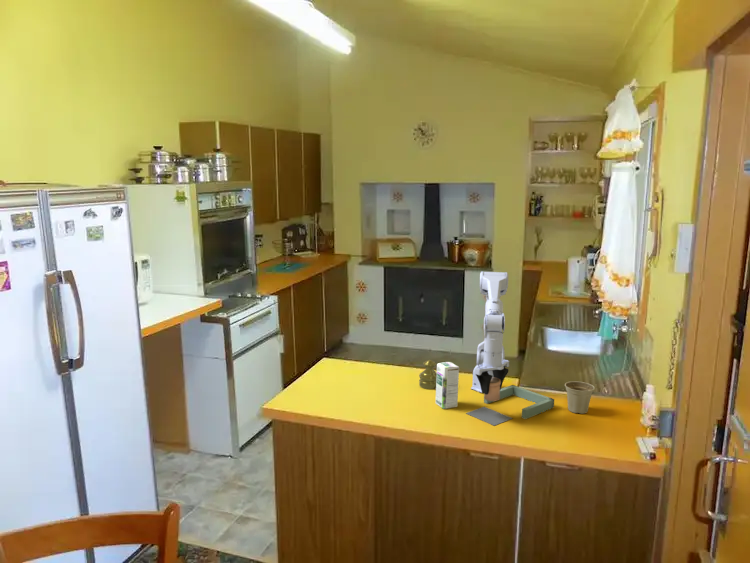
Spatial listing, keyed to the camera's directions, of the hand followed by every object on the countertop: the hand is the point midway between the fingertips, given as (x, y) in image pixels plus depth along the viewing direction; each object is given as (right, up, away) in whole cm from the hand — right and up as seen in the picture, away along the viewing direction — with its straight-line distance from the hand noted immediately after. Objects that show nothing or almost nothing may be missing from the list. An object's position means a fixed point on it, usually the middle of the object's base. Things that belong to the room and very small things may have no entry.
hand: (491, 391), depth 184 cm
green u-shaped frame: (+11, -7, +10) cm, 17 cm away
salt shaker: (-17, -4, +28) cm, 33 cm away
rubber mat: (0, -8, +1) cm, 8 cm away
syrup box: (-13, -7, +10) cm, 18 cm away
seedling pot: (0, -2, +1) cm, 2 cm away
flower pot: (+30, -8, +6) cm, 32 cm away
